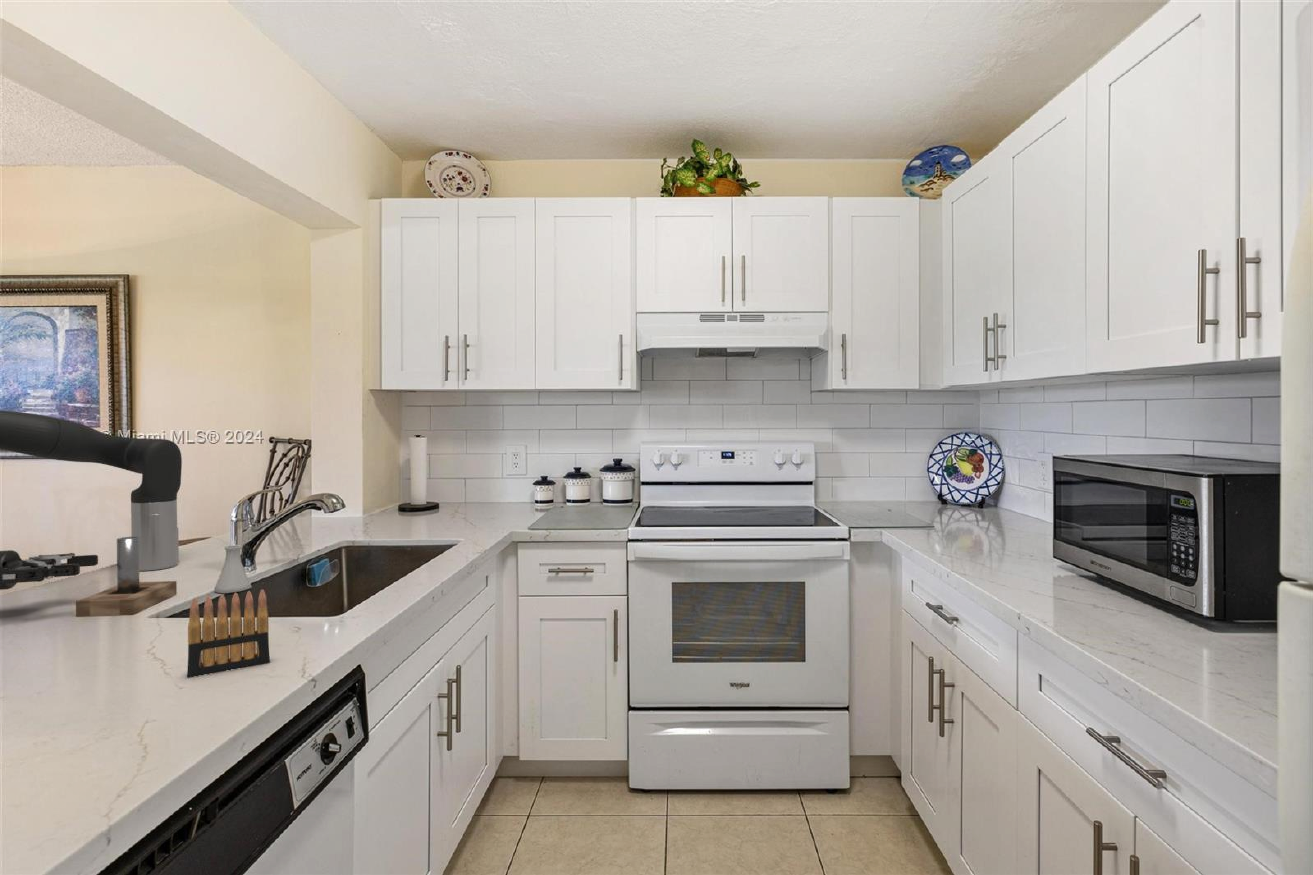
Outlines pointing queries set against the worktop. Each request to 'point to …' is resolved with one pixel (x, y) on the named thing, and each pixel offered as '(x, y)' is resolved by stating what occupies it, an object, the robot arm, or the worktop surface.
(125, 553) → the peg
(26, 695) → the worktop surface
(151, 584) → the hole block
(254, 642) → the ammunition clip
